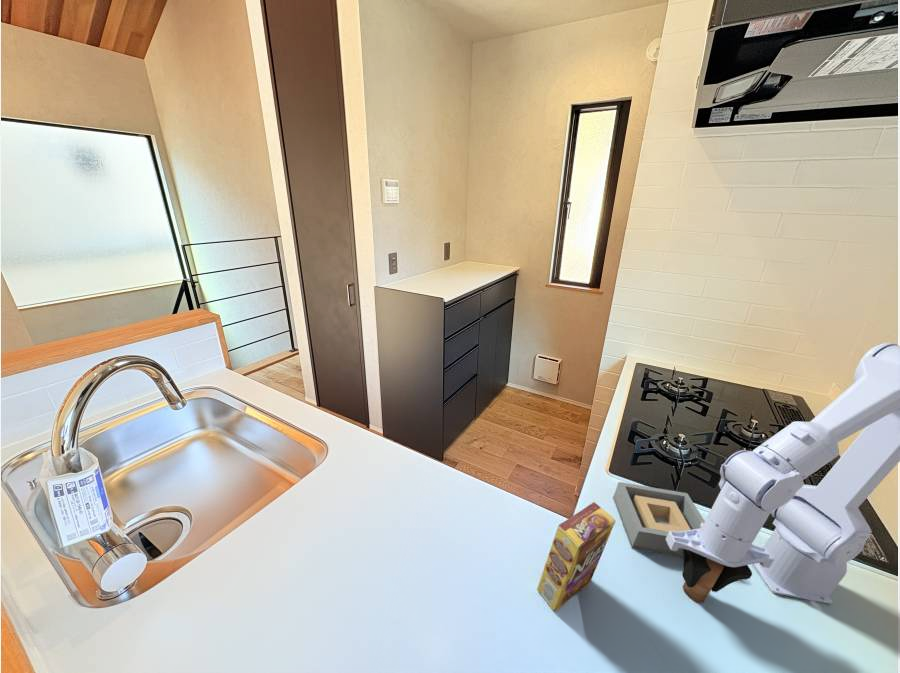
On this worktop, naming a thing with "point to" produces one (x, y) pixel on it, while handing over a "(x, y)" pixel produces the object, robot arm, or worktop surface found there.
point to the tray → (654, 516)
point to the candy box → (575, 555)
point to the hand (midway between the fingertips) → (699, 583)
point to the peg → (704, 583)
